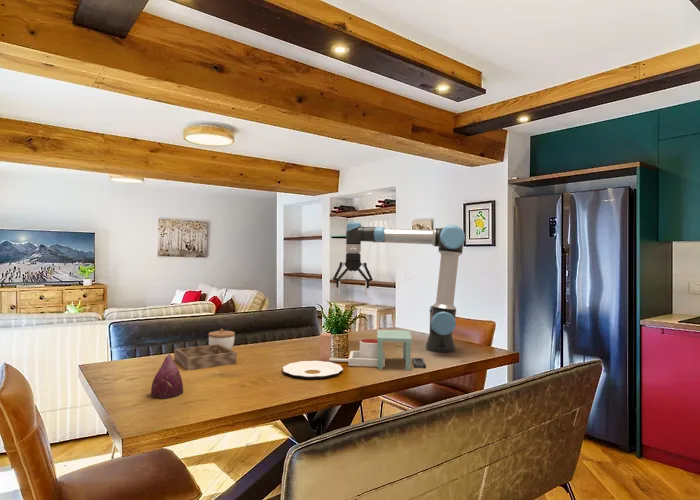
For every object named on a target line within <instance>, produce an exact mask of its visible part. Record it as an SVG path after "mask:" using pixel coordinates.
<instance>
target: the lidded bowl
mask: <svg viewBox="0 0 700 500" xmlns="http://www.w3.org/2000/svg"><path fill="white" fill-rule="evenodd" d="M235 335H236V333H235V331H232V330H224V329H223V328H220V330H214V331H210V332H208V345H216V344H220V345H222V346H224V347H226V348H229V349H231V350H232V348H233V346H234V344H235V338H236V337H235Z"/></svg>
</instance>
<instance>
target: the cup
mask: <svg viewBox="0 0 700 500" xmlns="http://www.w3.org/2000/svg"><path fill="white" fill-rule="evenodd" d="M359 351H360V353H359V358H365V359H378V341H377V338H376V339H375V338H365V339H360V340H359Z"/></svg>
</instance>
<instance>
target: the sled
mask: <svg viewBox="0 0 700 500" xmlns="http://www.w3.org/2000/svg"><path fill="white" fill-rule="evenodd" d="M331 347H332V333H331V332H322V333H321V334H320V355H319V356H320V360H319V361H323V362H339V363H340V362H341V363H342V362H343V363H344V362H345V363H346V362H347V363H348V364H347V365H348V366H350V367H351V366H352V367H353V366H354V367H356V366H357V367H377V368H378V359H365V358H359V353H360V350H350V352H349V355H348V358H338V357H337V358H335V357H334V358H333V357H332V356H331V353H332V351H331V349H332V348H331ZM385 355H386V354H385V351H383V366H382V368H385V365H386V364H385V363H386V357H385Z"/></svg>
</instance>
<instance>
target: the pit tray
mask: <svg viewBox="0 0 700 500" xmlns="http://www.w3.org/2000/svg"><path fill="white" fill-rule="evenodd" d="M411 359H412V361H411V362H412V365H413V368H414V369H427V368H426V366H427V364H426V362H425V360H424V358H421V357H411Z"/></svg>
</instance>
